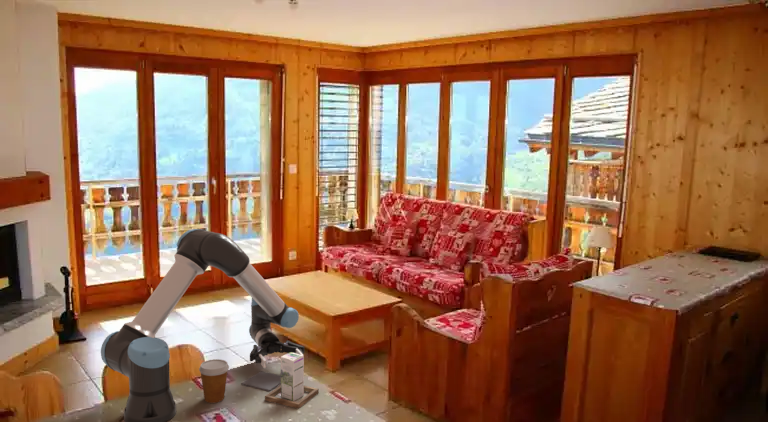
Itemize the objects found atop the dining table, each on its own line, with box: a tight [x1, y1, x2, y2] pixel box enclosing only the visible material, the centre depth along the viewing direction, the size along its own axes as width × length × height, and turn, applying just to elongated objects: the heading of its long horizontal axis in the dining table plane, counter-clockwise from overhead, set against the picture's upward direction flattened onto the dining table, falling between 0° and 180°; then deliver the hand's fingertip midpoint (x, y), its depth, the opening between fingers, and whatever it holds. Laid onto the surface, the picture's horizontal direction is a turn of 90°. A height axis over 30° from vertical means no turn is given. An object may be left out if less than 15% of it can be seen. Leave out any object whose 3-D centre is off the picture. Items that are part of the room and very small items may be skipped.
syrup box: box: [280, 352, 305, 402], centre depth 199 cm, size 6×6×14 cm
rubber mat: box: [240, 370, 281, 392], centre depth 211 cm, size 12×12×1 cm
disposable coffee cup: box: [198, 358, 230, 404], centre depth 196 cm, size 10×10×12 cm
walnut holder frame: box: [264, 385, 320, 409], centre depth 200 cm, size 13×13×2 cm
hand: (283, 361), depth 207 cm, fingers open, 13 cm apart
